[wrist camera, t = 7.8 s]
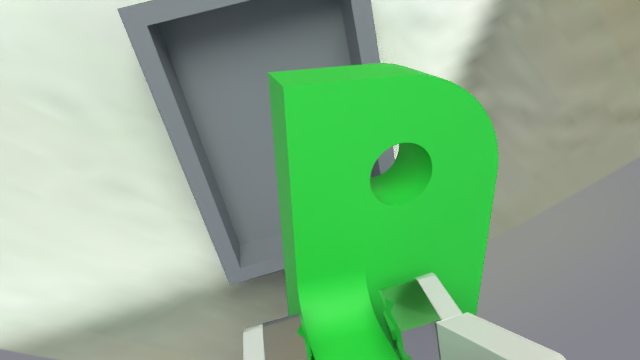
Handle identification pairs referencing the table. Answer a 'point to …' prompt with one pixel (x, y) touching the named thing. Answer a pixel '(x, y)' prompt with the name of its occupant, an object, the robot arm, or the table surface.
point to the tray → (240, 102)
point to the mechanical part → (377, 196)
